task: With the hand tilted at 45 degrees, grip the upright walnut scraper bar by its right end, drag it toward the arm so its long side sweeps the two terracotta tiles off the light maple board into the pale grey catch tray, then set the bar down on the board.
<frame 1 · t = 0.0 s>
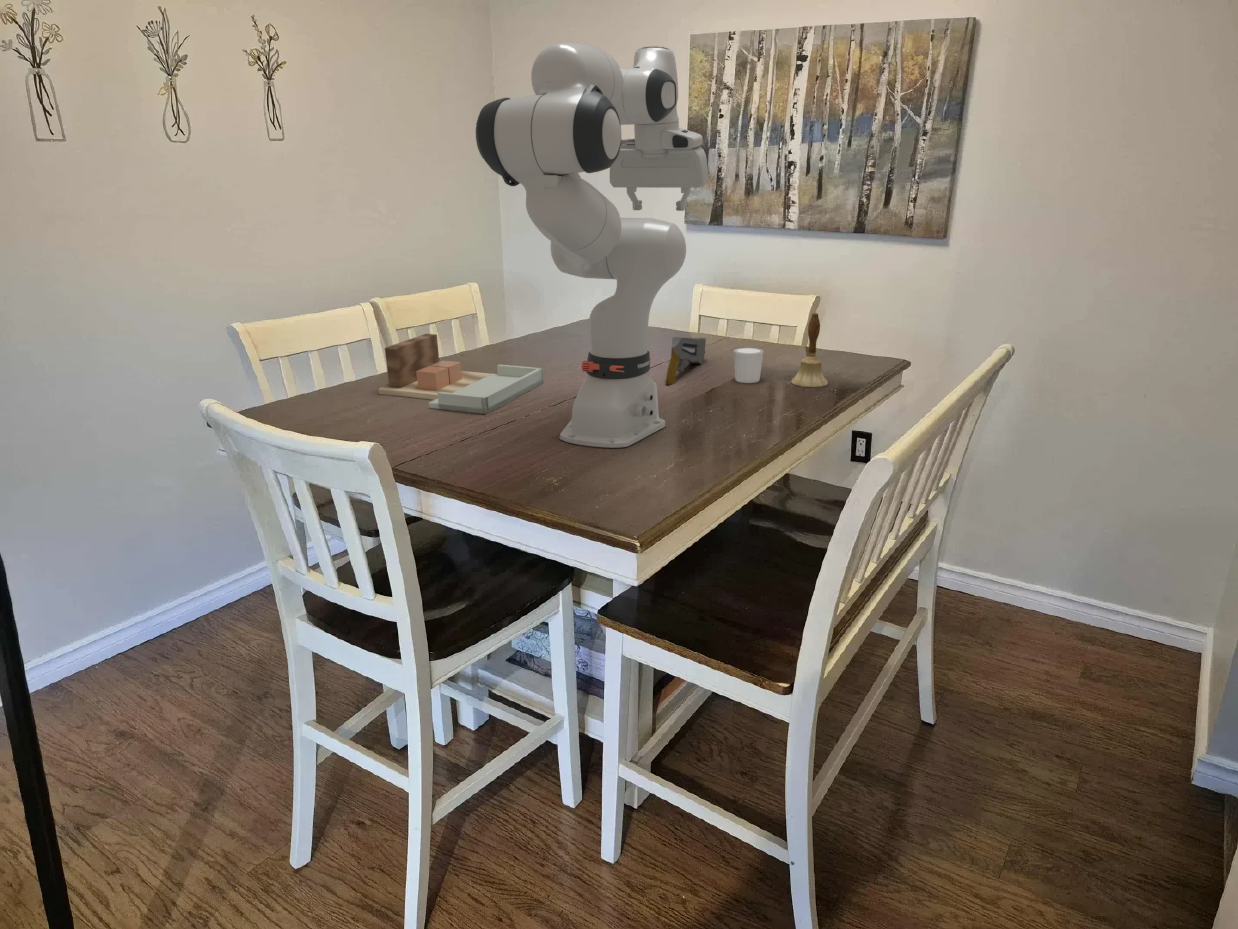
hand: (658, 210, 171), 39 cm above the table, tool pointing down, fingers open, 8 cm apart
scraper bar: (415, 378, 194), point 1 cm above the table, touching board
board: (436, 386, 192), on the table
hand bell: (809, 383, 191), on the table
tile a: (433, 386, 187), point 1 cm above the table, touching board
white tapered cylinder: (747, 380, 194), on the table
catch tray: (488, 394, 185), on the table
gun: (685, 373, 202), on the table
tile b: (447, 380, 192), point 1 cm above the table, touching board
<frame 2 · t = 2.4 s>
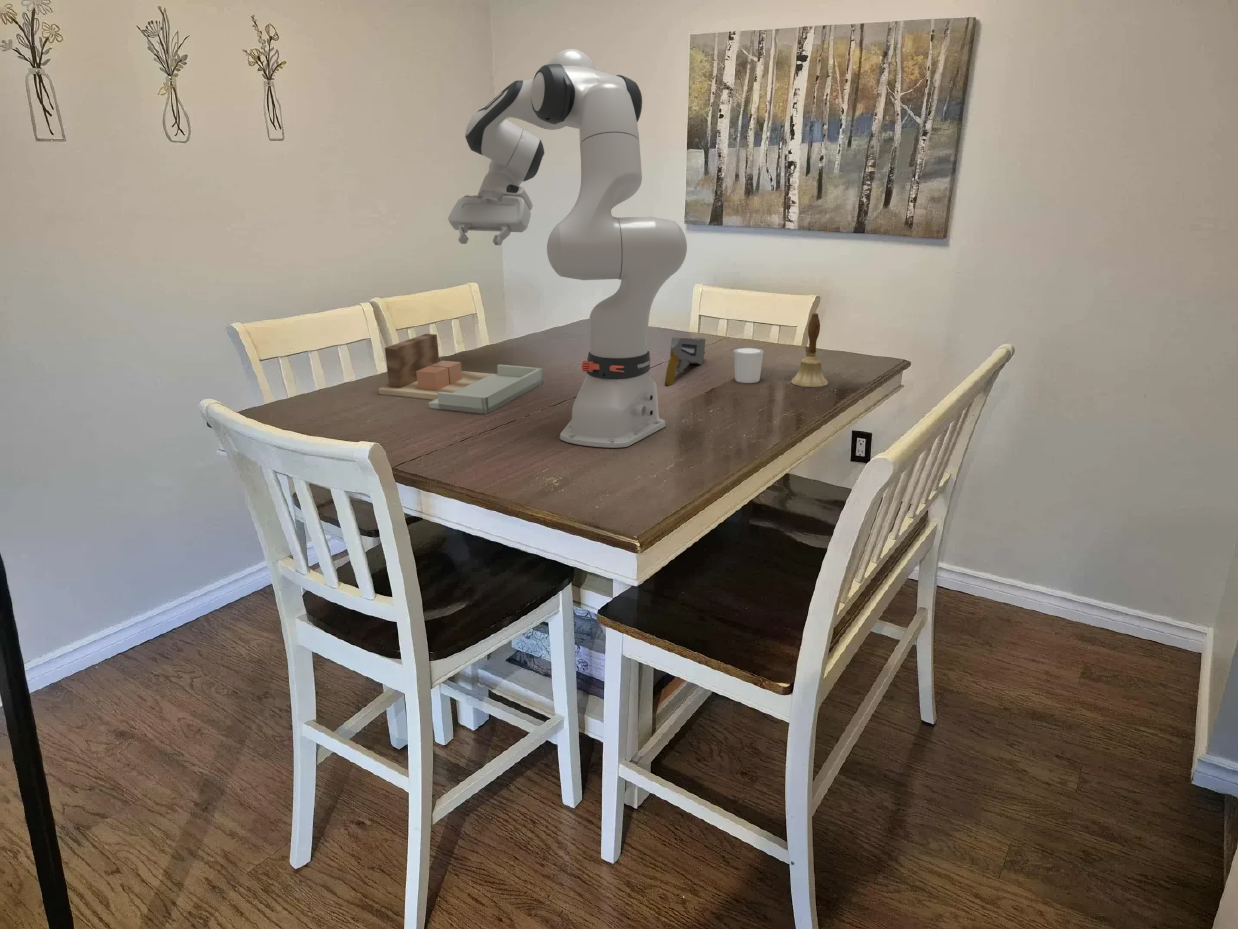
hand: (479, 242, 197), 30 cm above the table, tool tilted 45°, fingers open, 8 cm apart
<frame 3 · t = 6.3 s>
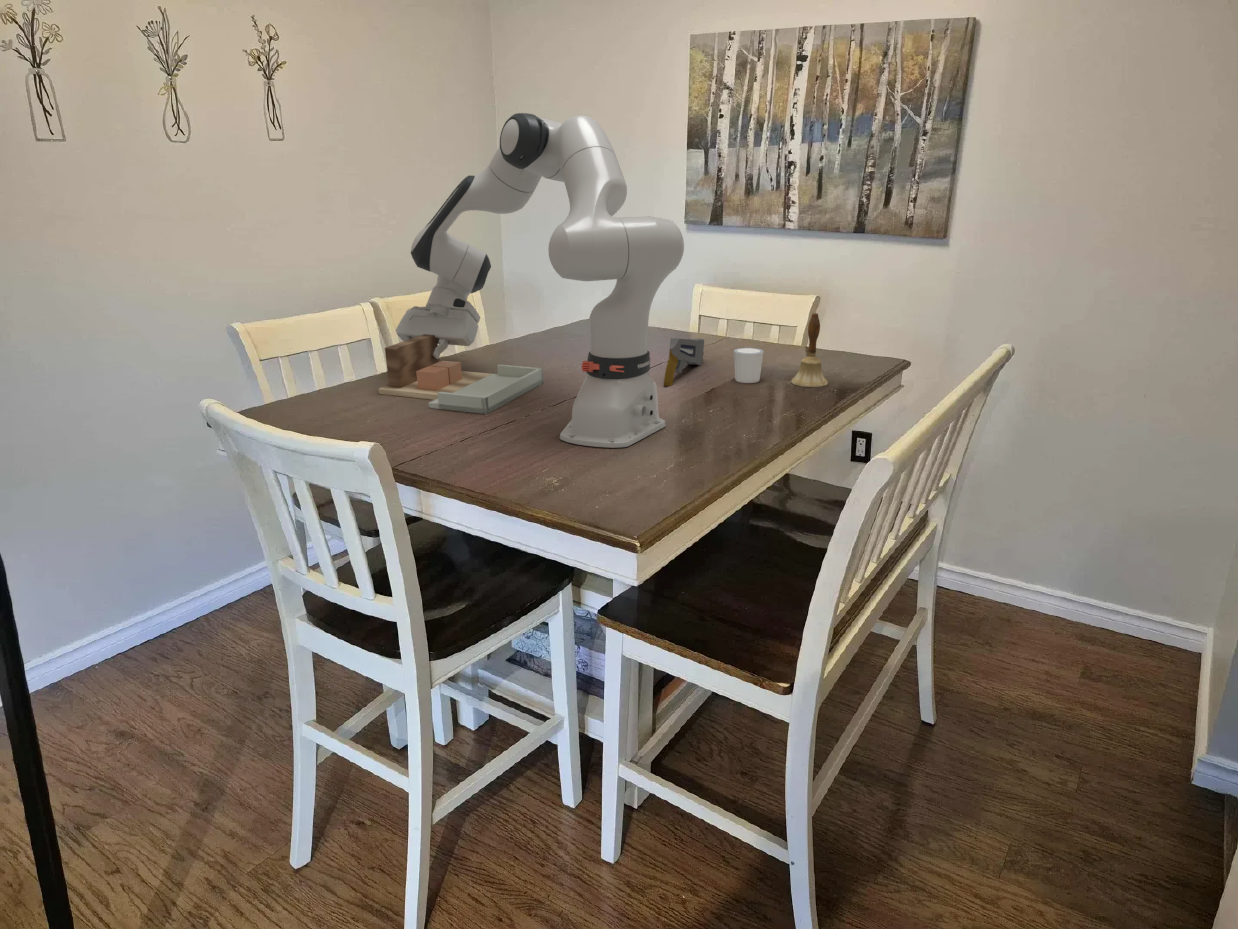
hand: (425, 356, 197), 5 cm above the table, tool tilted 45°, fingers closed on scraper bar, 3 cm apart
scraper bar: (415, 378, 194), point 1 cm above the table, touching board, gripper
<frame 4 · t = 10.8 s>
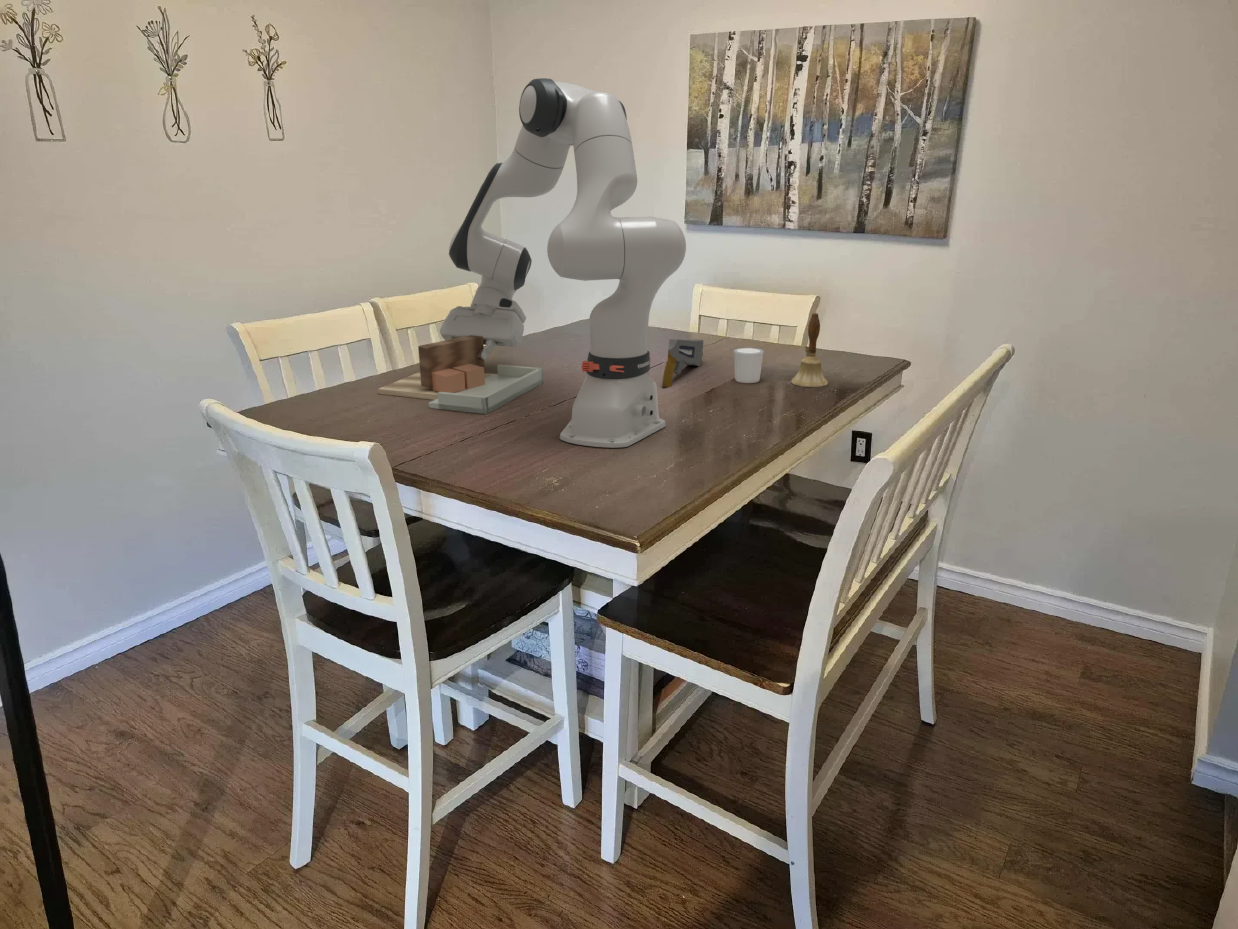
hand: (471, 357, 192), 6 cm above the table, tool tilted 45°, fingers closed on scraper bar, 4 cm apart
scraper bar: (453, 379, 190), point 2 cm above the table, touching gripper, tile a, tile b
tile a: (449, 389, 184), point 1 cm above the table, touching scraper bar
tile b: (469, 384, 188), point 1 cm above the table, touching board, catch tray, scraper bar
when the fingers open (6 cm above the table, at t = 14.5 s): scraper bar stays where it is, resting on board.
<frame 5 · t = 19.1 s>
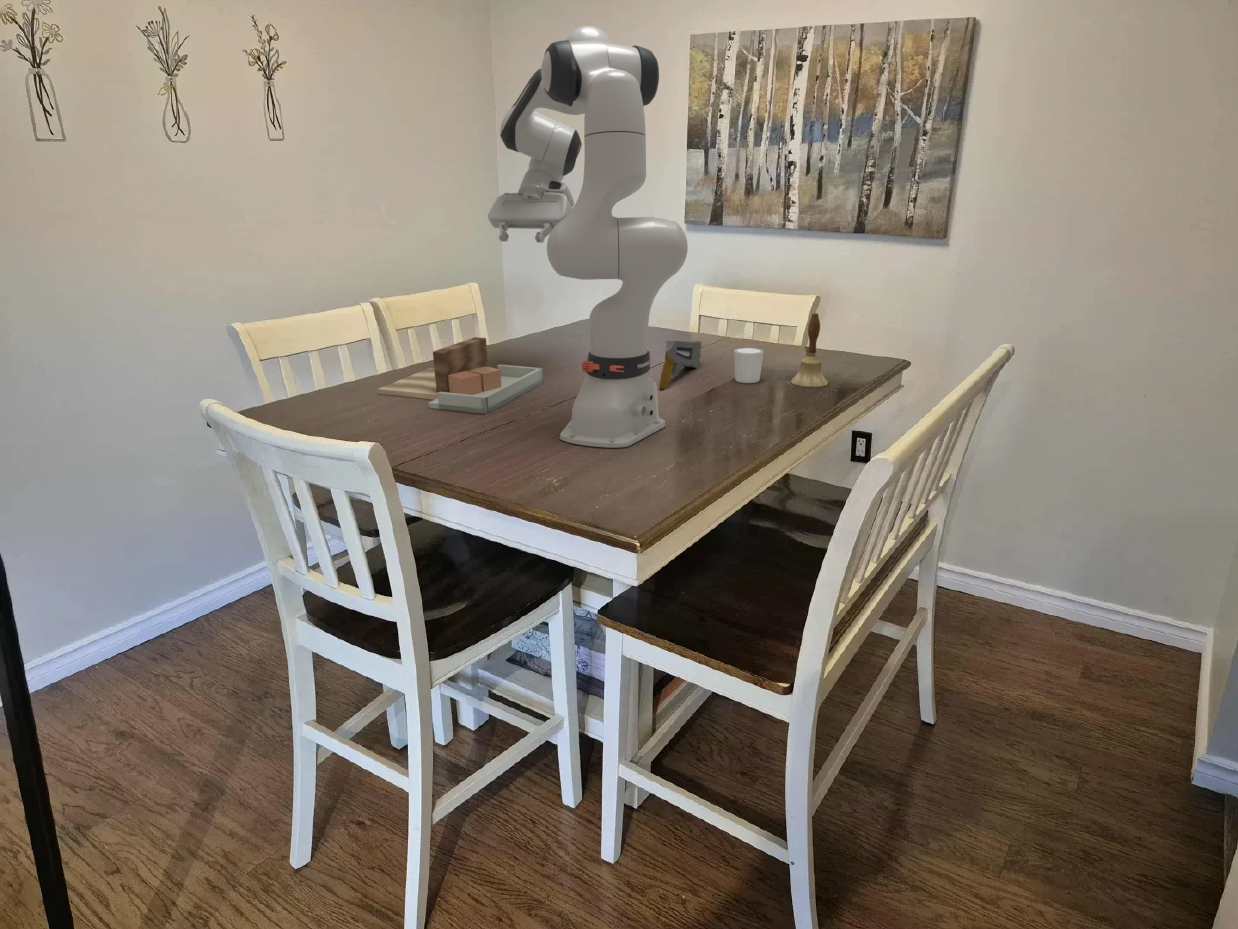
hand: (520, 240, 192), 31 cm above the table, tool tilted 45°, fingers open, 8 cm apart
scraper bar: (463, 383, 189), point 1 cm above the table, touching board
tile a: (465, 392, 182), point 1 cm above the table, touching board, catch tray
gun: (680, 377, 198), on the table
tile b: (485, 387, 186), point 1 cm above the table, touching catch tray
everything else where it was.
at the end: tile a inside the target area (5.5 cm from its centre), point 1.2 cm above the table; tile b inside the target area (2.7 cm from its centre), point 1.1 cm above the table; the gripper is holding nothing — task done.
